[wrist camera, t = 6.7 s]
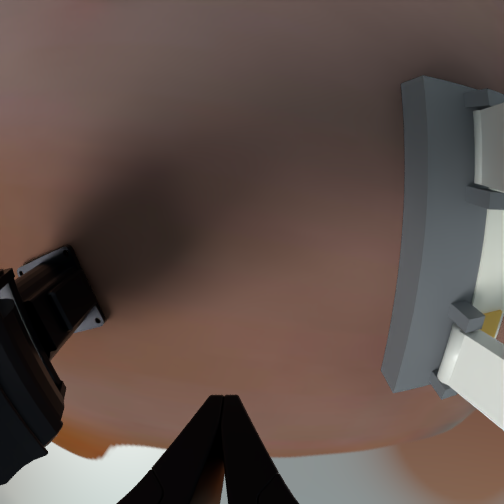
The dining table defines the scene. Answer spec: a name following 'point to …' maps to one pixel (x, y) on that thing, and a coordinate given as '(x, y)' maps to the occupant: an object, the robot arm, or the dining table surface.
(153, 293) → the dining table surface
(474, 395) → the white switch lever
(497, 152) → the lever slate
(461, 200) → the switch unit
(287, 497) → the robot arm
